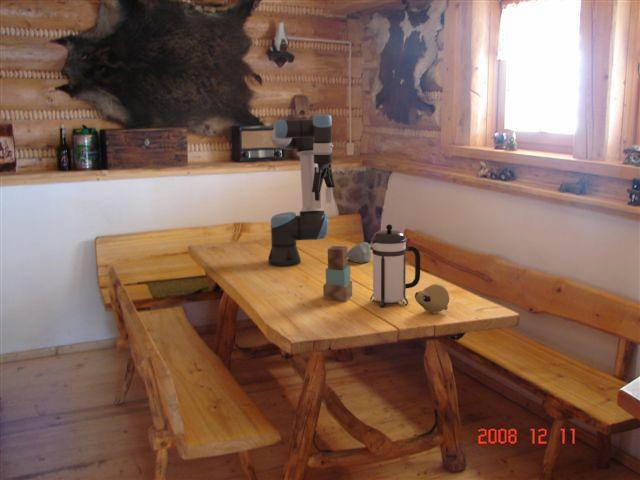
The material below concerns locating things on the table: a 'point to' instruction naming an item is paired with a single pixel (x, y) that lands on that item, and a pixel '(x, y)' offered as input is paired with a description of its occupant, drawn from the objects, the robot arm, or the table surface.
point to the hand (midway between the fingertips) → (323, 205)
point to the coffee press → (391, 266)
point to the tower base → (337, 292)
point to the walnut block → (337, 258)
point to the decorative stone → (360, 253)
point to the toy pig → (433, 298)
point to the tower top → (338, 277)
